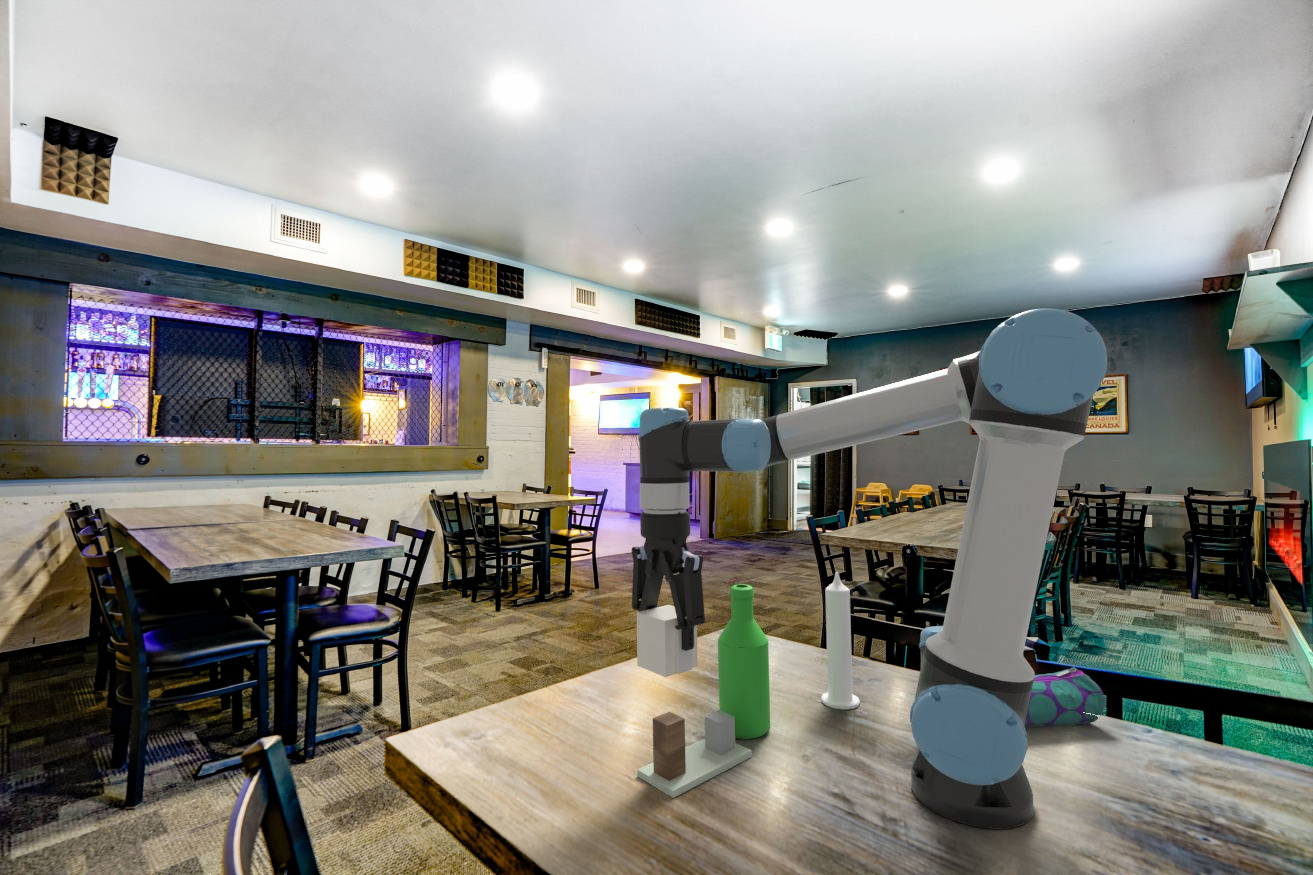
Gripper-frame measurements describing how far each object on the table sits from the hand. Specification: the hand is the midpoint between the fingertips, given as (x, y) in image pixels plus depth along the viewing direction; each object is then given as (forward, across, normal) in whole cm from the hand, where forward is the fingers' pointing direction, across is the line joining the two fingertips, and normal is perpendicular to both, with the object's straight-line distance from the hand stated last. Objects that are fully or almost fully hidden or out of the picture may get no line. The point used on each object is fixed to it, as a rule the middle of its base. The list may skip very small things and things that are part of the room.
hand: (667, 664), depth 92 cm
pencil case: (+17, -30, -58) cm, 68 cm away
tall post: (+17, 0, 0) cm, 17 cm away
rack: (+17, 0, -6) cm, 18 cm away
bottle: (+17, +3, -20) cm, 27 cm away
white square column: (0, 0, 0) cm, 0 cm away
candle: (+17, -2, -42) cm, 46 cm away
